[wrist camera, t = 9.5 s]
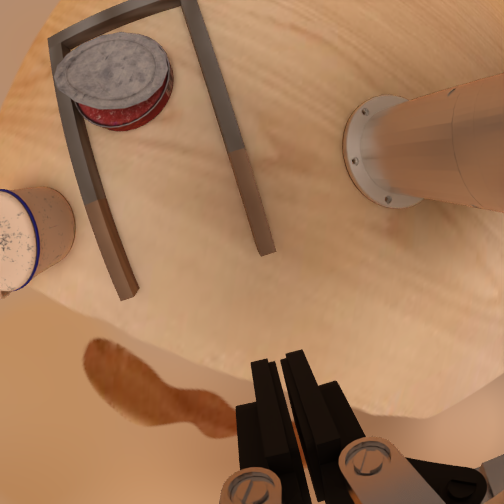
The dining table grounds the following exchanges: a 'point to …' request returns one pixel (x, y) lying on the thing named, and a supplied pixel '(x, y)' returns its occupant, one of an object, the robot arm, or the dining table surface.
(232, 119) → the can dock
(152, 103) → the canned food
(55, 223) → the teacup with lid
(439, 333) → the dining table surface
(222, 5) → the dining table surface
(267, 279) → the dining table surface
